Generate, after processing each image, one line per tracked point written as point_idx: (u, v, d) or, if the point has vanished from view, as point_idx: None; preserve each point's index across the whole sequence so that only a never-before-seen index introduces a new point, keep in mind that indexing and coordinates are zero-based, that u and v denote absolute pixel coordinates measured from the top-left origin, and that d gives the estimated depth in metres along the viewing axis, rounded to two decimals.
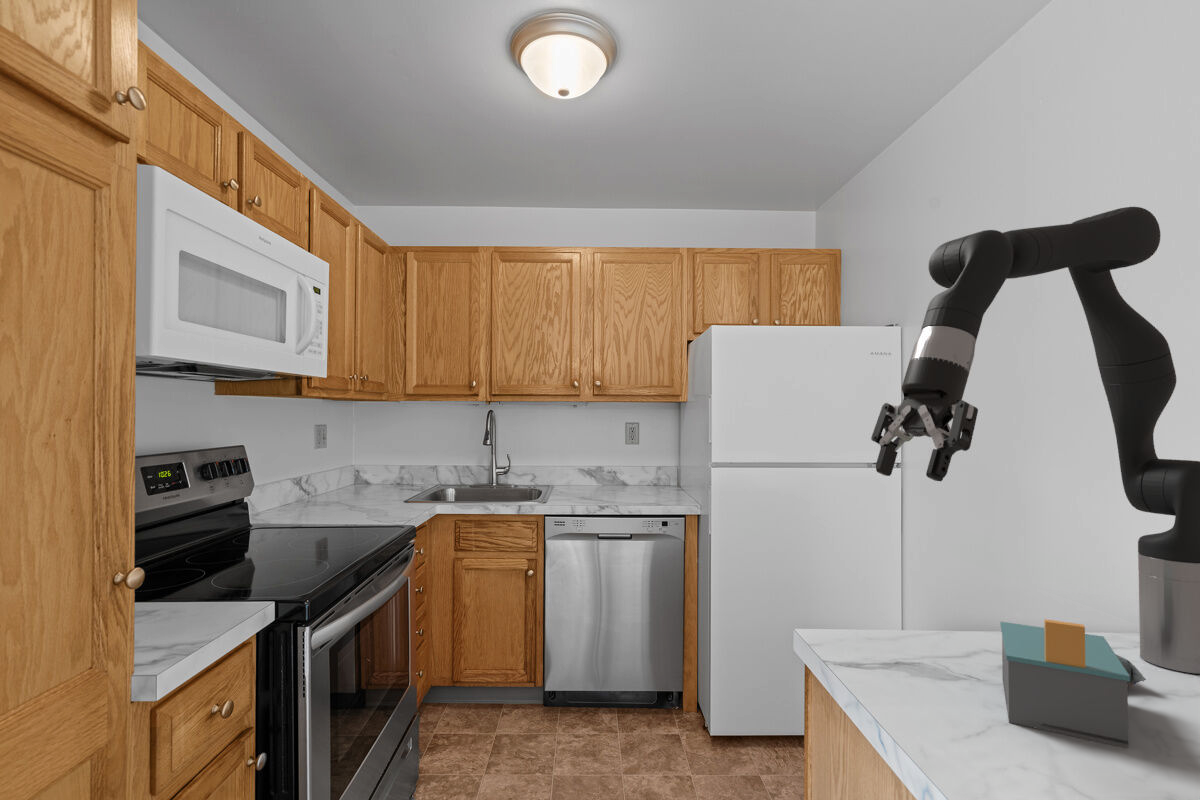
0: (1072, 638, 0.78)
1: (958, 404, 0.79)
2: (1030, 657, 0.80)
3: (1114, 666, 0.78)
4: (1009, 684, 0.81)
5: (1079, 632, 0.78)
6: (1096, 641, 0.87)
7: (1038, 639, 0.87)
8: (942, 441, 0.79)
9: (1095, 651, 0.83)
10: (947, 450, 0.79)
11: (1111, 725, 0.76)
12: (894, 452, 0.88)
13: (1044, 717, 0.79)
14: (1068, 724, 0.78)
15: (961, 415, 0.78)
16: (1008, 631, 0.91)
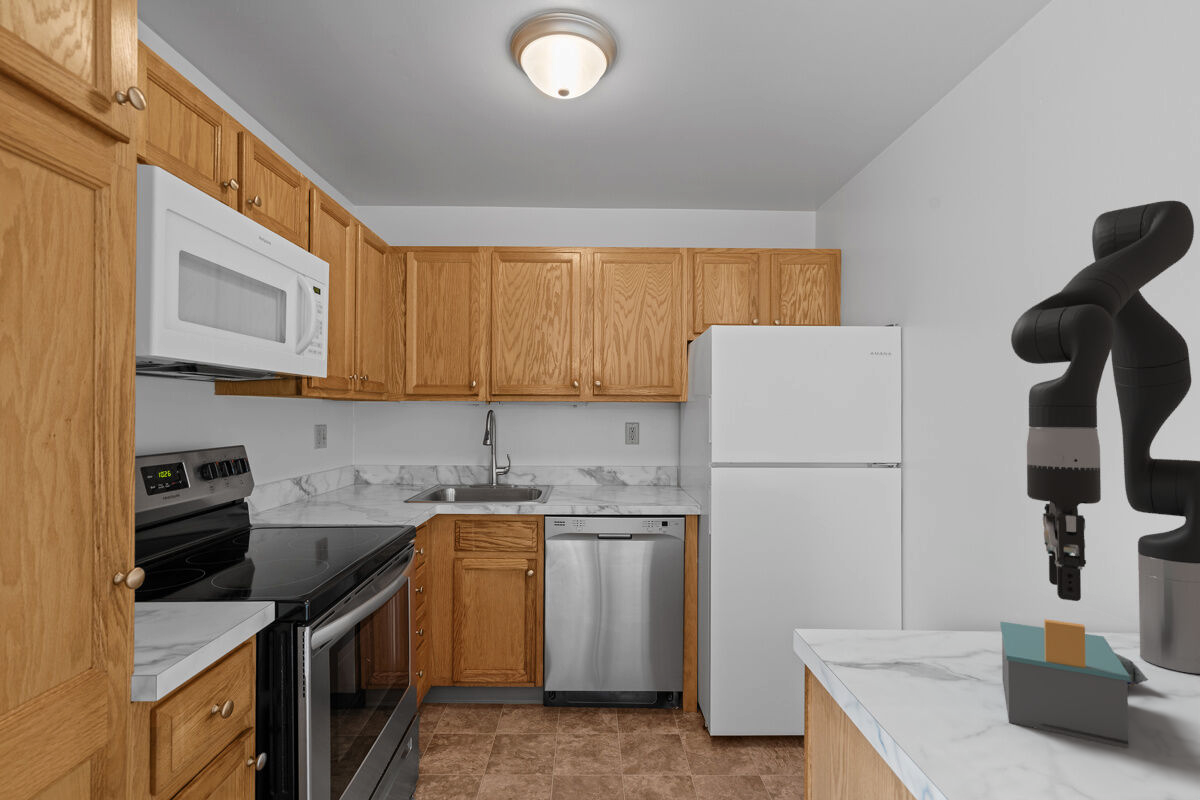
0: (1072, 638, 0.78)
1: None
2: (1030, 657, 0.80)
3: (1114, 666, 0.78)
4: (1009, 684, 0.81)
5: (1079, 632, 0.78)
6: (1096, 641, 0.87)
7: (1038, 639, 0.87)
8: (1057, 559, 0.75)
9: (1095, 651, 0.83)
10: (1066, 568, 0.74)
11: (1111, 725, 0.76)
12: None
13: (1044, 717, 0.79)
14: (1068, 724, 0.78)
15: (1058, 531, 0.74)
16: (1008, 631, 0.91)
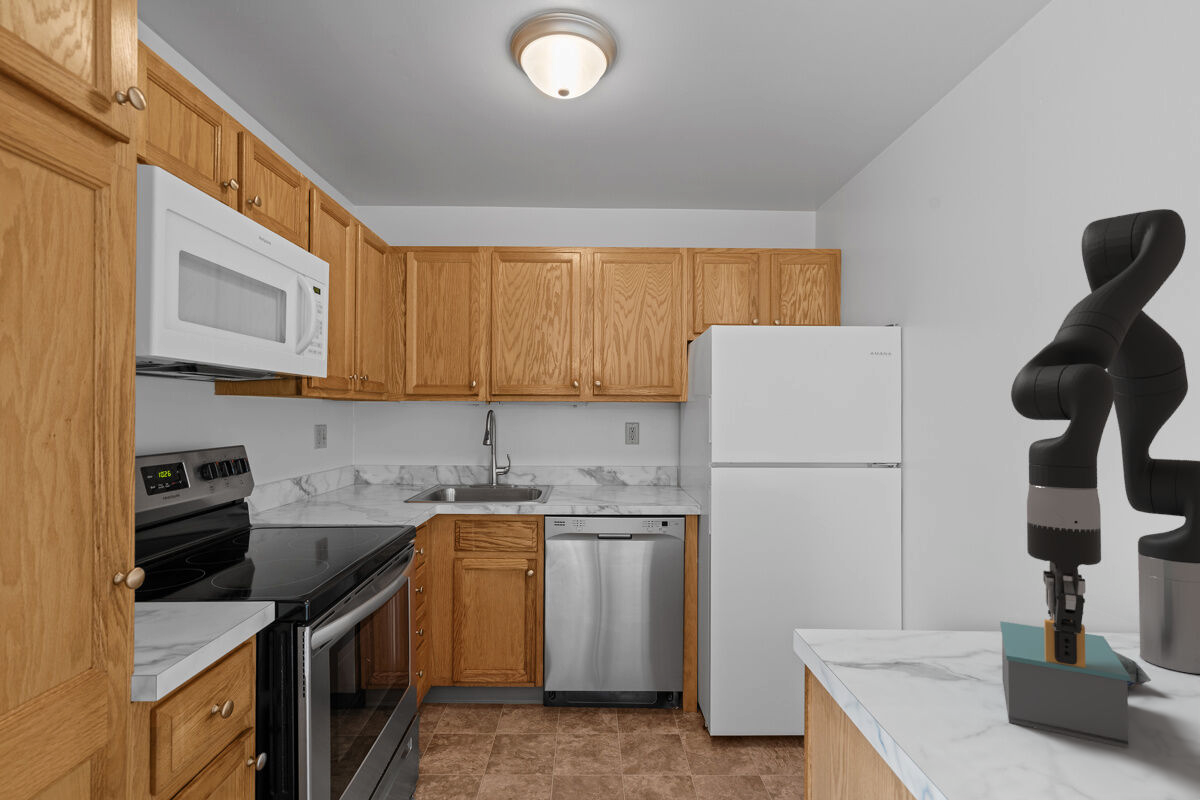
0: None
1: None
2: (1030, 657, 0.80)
3: (1114, 666, 0.78)
4: (1009, 684, 0.81)
5: None
6: (1096, 640, 0.87)
7: (1038, 639, 0.87)
8: (1054, 626, 0.78)
9: (1095, 651, 0.83)
10: (1062, 633, 0.77)
11: (1111, 725, 0.76)
12: None
13: (1044, 717, 0.79)
14: (1068, 724, 0.78)
15: (1057, 609, 0.75)
16: (1008, 631, 0.91)
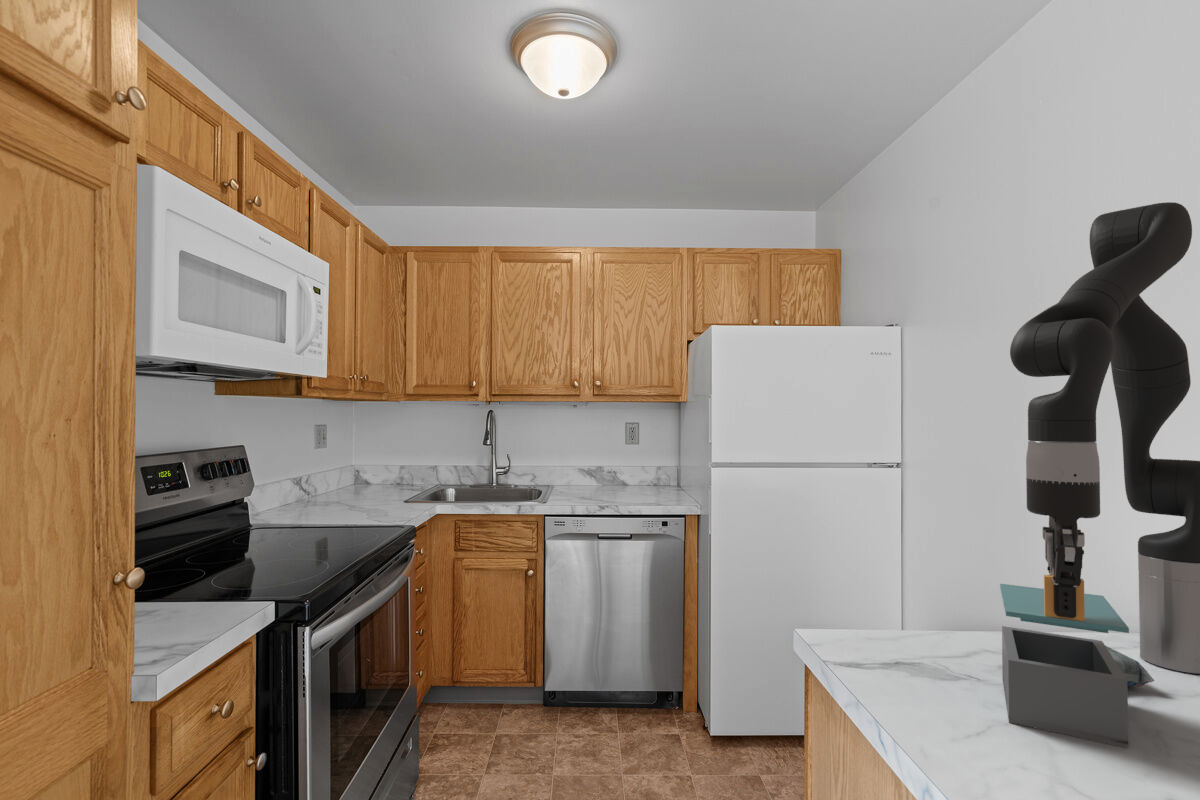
0: None
1: (1055, 548, 0.75)
2: (1029, 612, 0.81)
3: (1113, 620, 0.78)
4: (1009, 684, 0.81)
5: (1078, 586, 0.78)
6: (1096, 599, 0.87)
7: (1038, 598, 0.88)
8: (1053, 581, 0.78)
9: (1094, 608, 0.83)
10: (1062, 587, 0.77)
11: (1111, 725, 0.76)
12: None
13: (1044, 717, 0.79)
14: (1068, 724, 0.78)
15: (1056, 561, 0.75)
16: (1008, 591, 0.91)
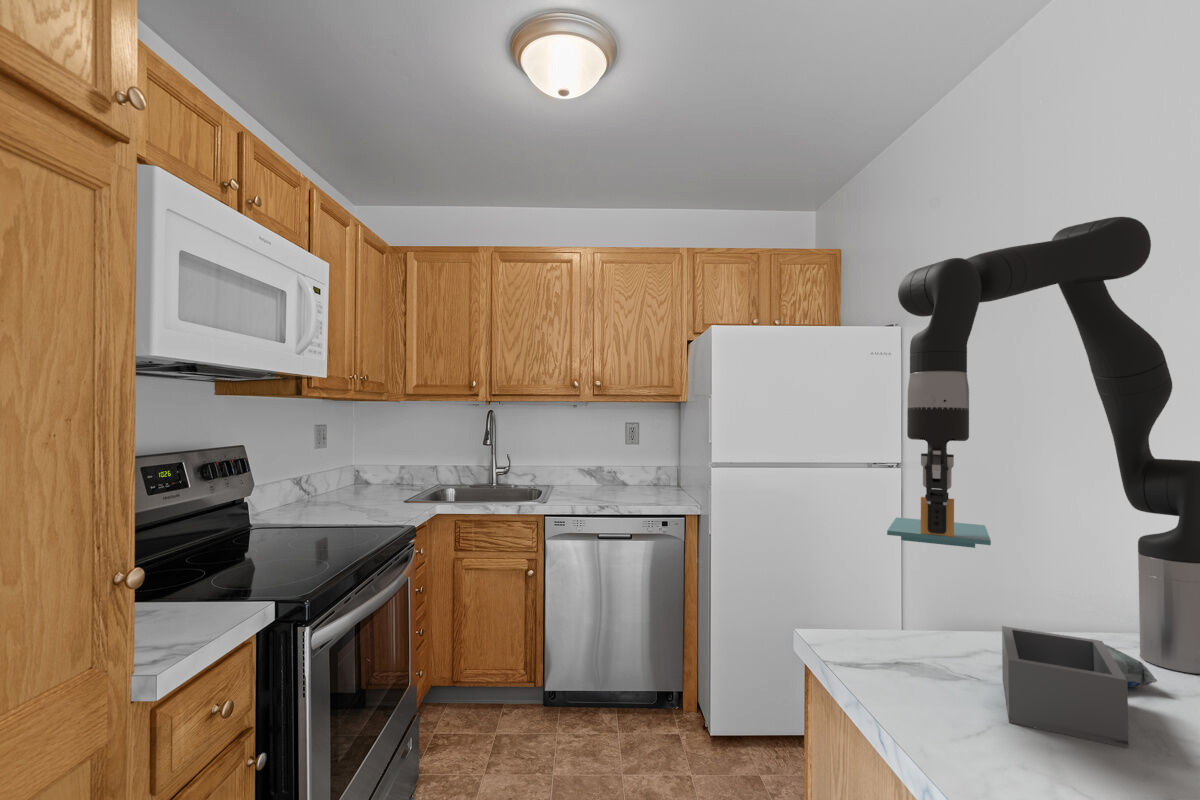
0: None
1: (925, 466, 0.82)
2: (908, 531, 0.87)
3: (981, 536, 0.85)
4: (1009, 684, 0.81)
5: (949, 504, 0.85)
6: (976, 526, 0.94)
7: None
8: (927, 500, 0.85)
9: (970, 530, 0.90)
10: (933, 505, 0.84)
11: (1111, 725, 0.76)
12: None
13: (1044, 717, 0.79)
14: (1068, 724, 0.78)
15: (926, 479, 0.82)
16: (899, 521, 0.98)
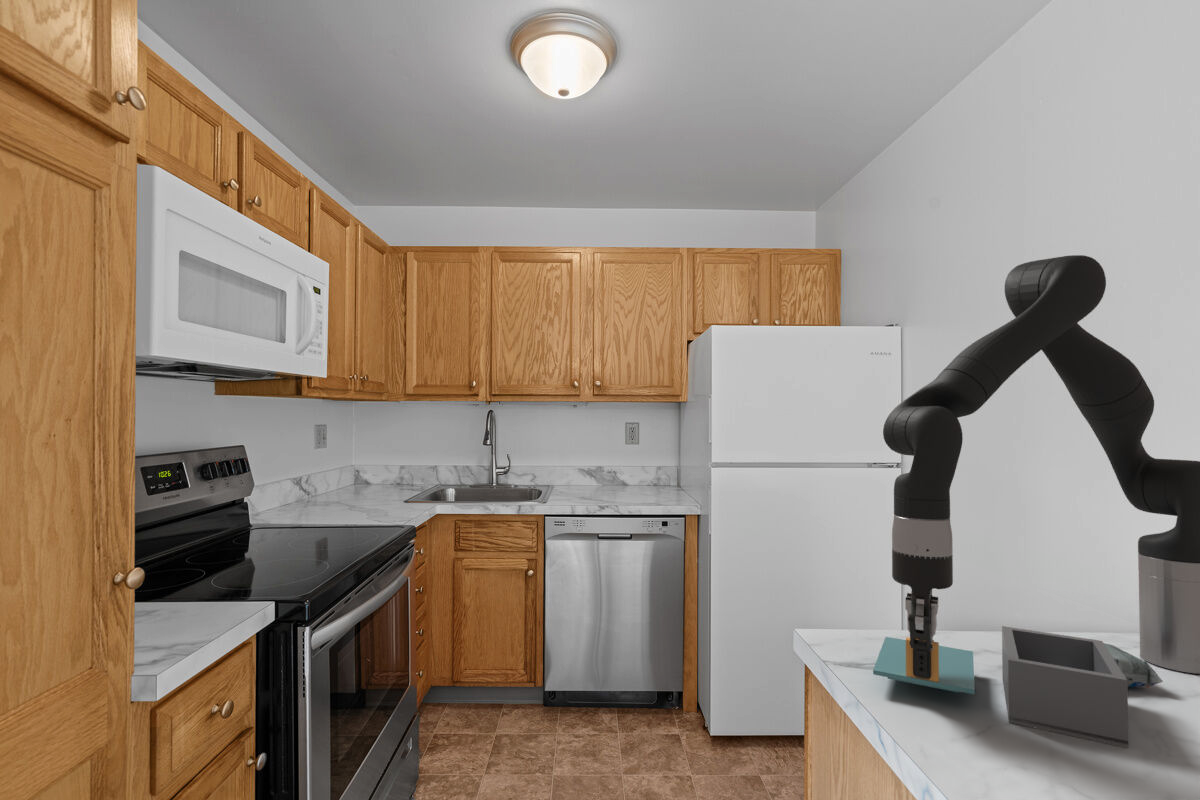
0: None
1: (908, 617, 0.83)
2: (894, 672, 0.88)
3: (966, 680, 0.86)
4: (1009, 684, 0.81)
5: (933, 649, 0.85)
6: (964, 655, 0.95)
7: None
8: None
9: (957, 666, 0.91)
10: (918, 650, 0.85)
11: (1111, 725, 0.76)
12: None
13: (1044, 717, 0.79)
14: (1068, 724, 0.78)
15: (909, 629, 0.83)
16: (887, 646, 0.98)
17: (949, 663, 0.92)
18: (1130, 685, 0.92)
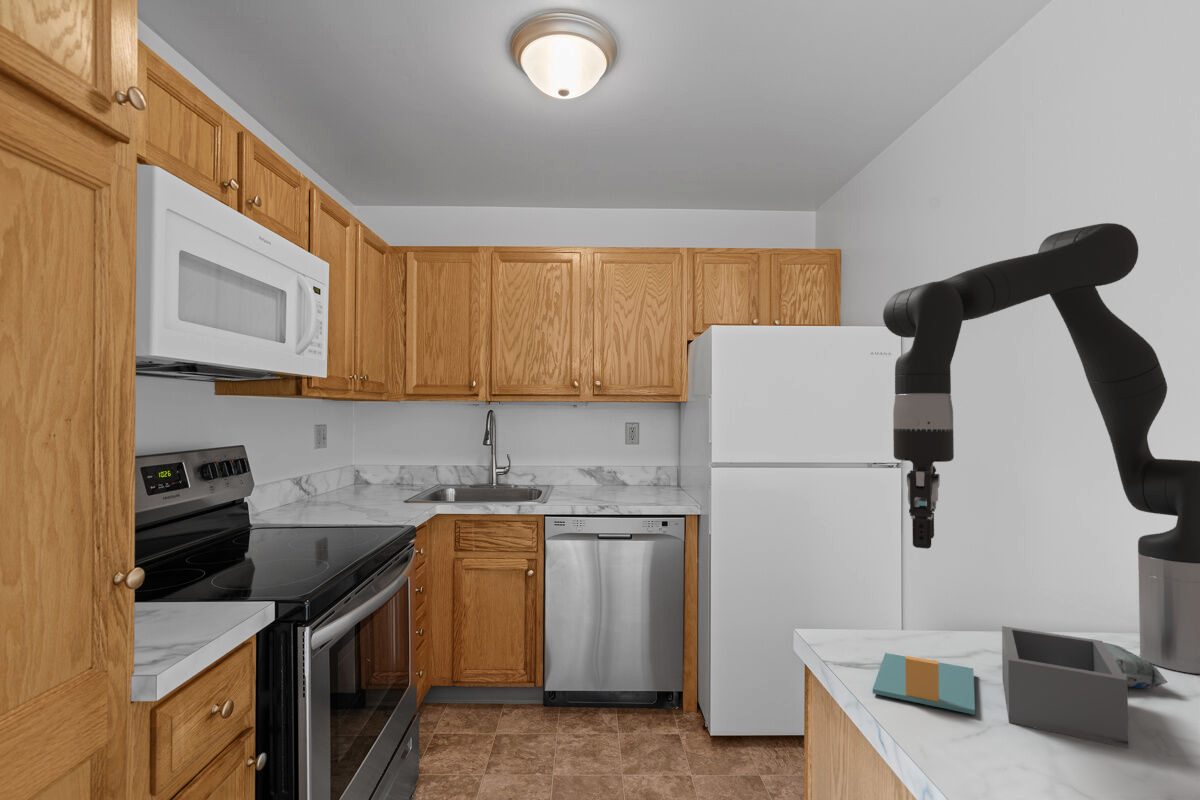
0: (927, 674, 0.85)
1: None
2: (893, 691, 0.88)
3: (966, 700, 0.85)
4: (1009, 684, 0.81)
5: (933, 668, 0.85)
6: (964, 673, 0.94)
7: None
8: None
9: (957, 684, 0.90)
10: (918, 519, 0.83)
11: (1111, 725, 0.76)
12: None
13: (1044, 717, 0.79)
14: (1068, 724, 0.78)
15: (910, 486, 0.82)
16: (887, 663, 0.98)
17: (949, 681, 0.91)
18: (1134, 685, 0.92)
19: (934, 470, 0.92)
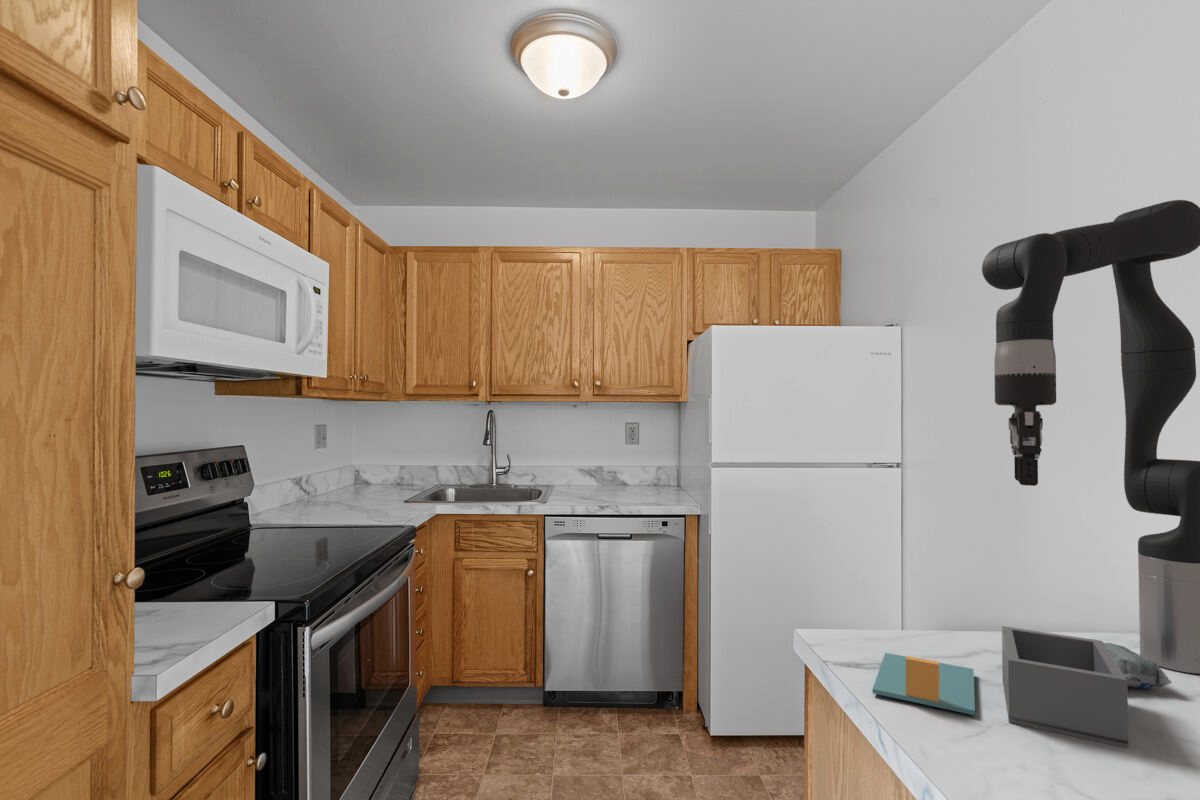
0: (928, 674, 0.85)
1: (1017, 415, 0.87)
2: (893, 691, 0.87)
3: (966, 700, 0.85)
4: (1009, 684, 0.81)
5: (933, 669, 0.85)
6: (964, 673, 0.94)
7: None
8: (1018, 451, 0.88)
9: (957, 684, 0.90)
10: (1025, 458, 0.87)
11: (1111, 725, 0.76)
12: None
13: (1044, 717, 0.79)
14: (1068, 724, 0.78)
15: (1018, 426, 0.87)
16: (887, 663, 0.98)
17: (949, 682, 0.91)
18: (1138, 686, 0.91)
19: None
